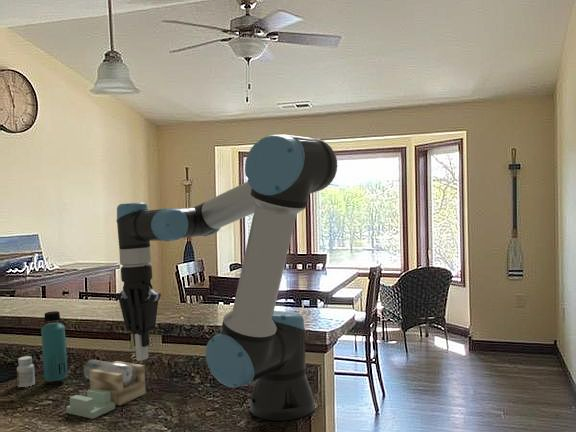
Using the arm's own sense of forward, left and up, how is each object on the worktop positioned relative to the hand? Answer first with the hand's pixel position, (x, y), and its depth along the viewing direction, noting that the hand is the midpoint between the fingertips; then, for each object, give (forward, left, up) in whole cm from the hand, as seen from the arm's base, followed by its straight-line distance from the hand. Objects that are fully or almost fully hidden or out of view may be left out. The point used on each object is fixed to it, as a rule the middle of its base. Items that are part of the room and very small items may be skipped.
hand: (142, 359), depth 145 cm
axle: (+12, 0, -5) cm, 13 cm away
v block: (+9, +10, -11) cm, 17 cm away
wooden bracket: (+9, 0, -11) cm, 14 cm away
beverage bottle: (+34, -1, -11) cm, 36 cm away
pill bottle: (+40, +4, -11) cm, 42 cm away
